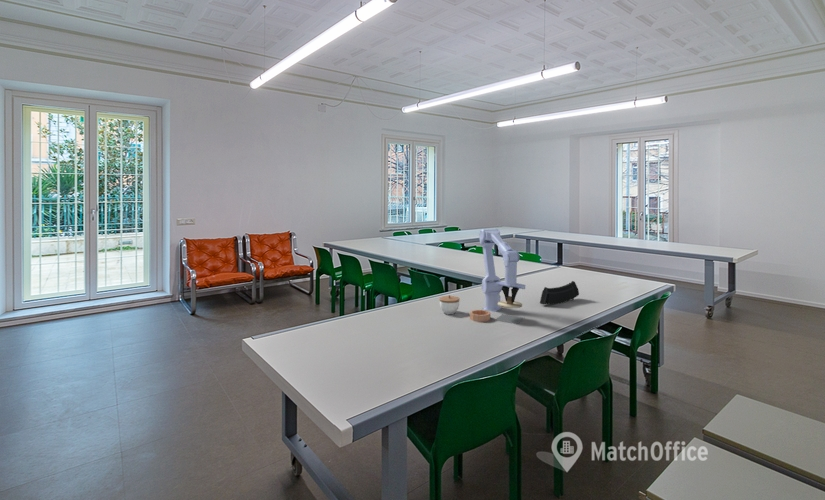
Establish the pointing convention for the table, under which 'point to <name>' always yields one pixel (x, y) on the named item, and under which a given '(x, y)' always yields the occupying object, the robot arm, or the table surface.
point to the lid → (509, 303)
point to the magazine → (559, 294)
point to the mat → (509, 319)
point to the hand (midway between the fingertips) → (510, 301)
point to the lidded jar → (449, 304)
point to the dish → (480, 315)
